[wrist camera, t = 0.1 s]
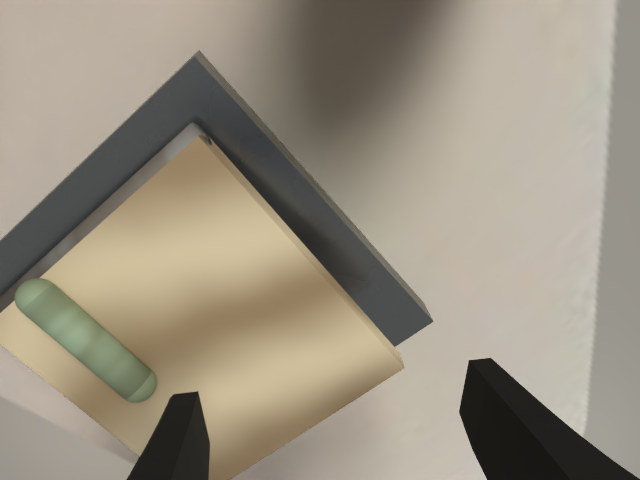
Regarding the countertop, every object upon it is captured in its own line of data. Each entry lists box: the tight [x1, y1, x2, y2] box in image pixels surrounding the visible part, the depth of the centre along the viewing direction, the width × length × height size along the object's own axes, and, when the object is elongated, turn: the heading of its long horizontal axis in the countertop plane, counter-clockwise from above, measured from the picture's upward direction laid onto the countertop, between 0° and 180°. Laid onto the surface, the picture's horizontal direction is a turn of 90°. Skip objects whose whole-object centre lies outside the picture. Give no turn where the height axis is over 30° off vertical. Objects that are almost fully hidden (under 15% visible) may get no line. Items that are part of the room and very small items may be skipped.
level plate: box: [0, 122, 404, 480], centre depth 18 cm, size 12×12×2 cm
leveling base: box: [0, 51, 433, 347], centre depth 21 cm, size 16×15×2 cm
